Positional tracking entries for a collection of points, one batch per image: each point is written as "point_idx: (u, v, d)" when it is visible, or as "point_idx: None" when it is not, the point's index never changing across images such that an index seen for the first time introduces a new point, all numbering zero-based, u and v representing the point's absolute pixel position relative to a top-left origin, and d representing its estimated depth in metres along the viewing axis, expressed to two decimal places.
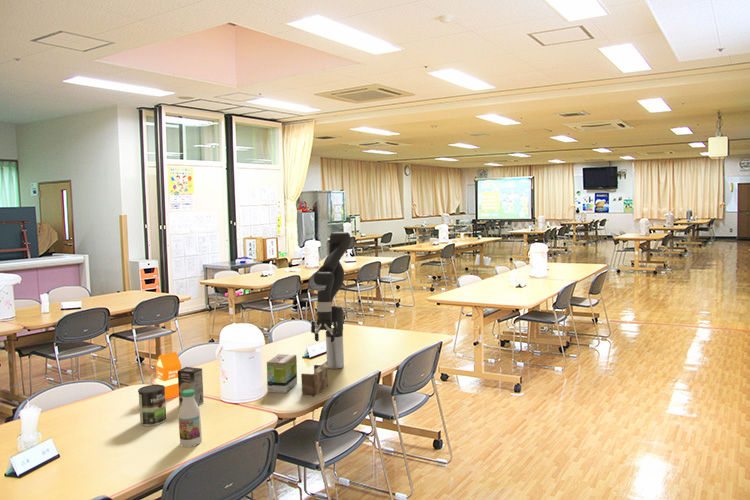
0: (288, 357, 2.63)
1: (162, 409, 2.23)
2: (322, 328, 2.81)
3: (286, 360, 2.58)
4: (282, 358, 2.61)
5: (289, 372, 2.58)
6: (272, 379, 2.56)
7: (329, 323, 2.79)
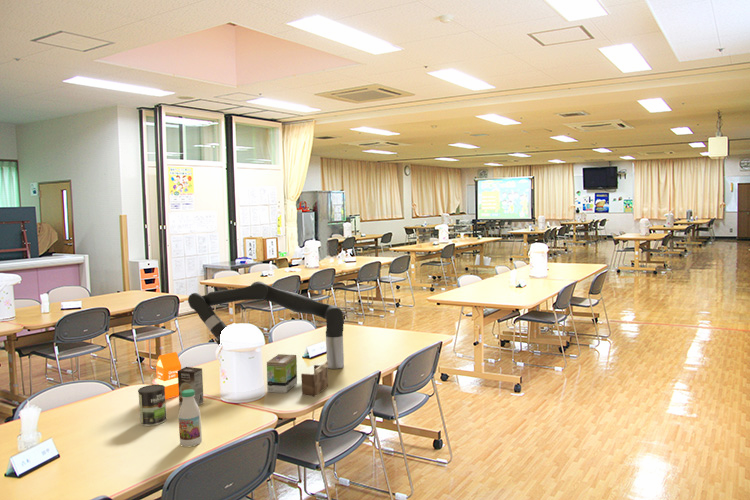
0: (288, 357, 2.63)
1: (162, 409, 2.23)
2: None
3: (286, 360, 2.58)
4: (282, 358, 2.61)
5: (289, 372, 2.58)
6: (272, 379, 2.56)
7: None
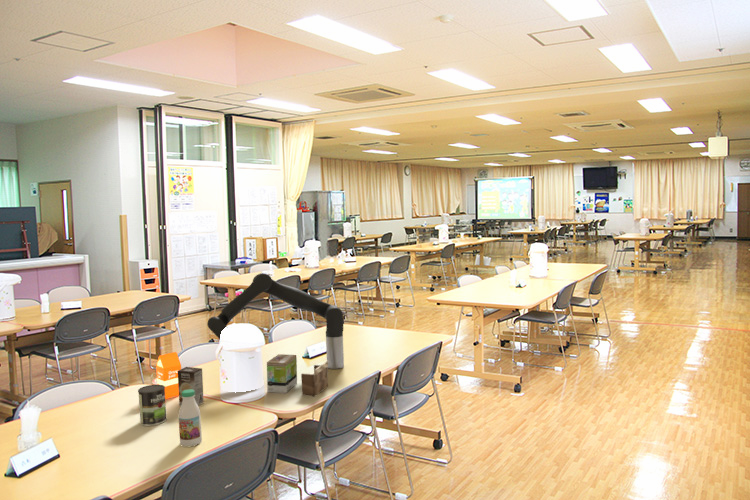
0: (288, 357, 2.63)
1: (162, 409, 2.23)
2: None
3: (286, 360, 2.58)
4: (282, 358, 2.61)
5: (289, 372, 2.58)
6: (272, 379, 2.56)
7: None
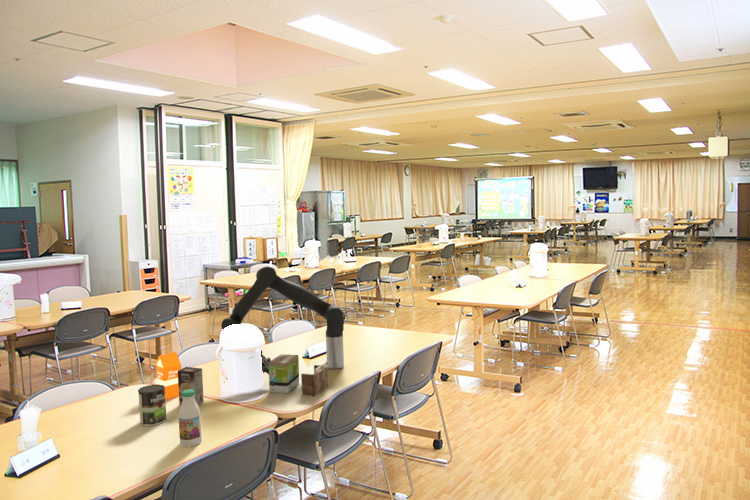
0: (290, 357, 2.63)
1: (162, 409, 2.23)
2: None
3: (288, 360, 2.58)
4: (284, 358, 2.61)
5: (291, 372, 2.58)
6: (274, 379, 2.56)
7: None
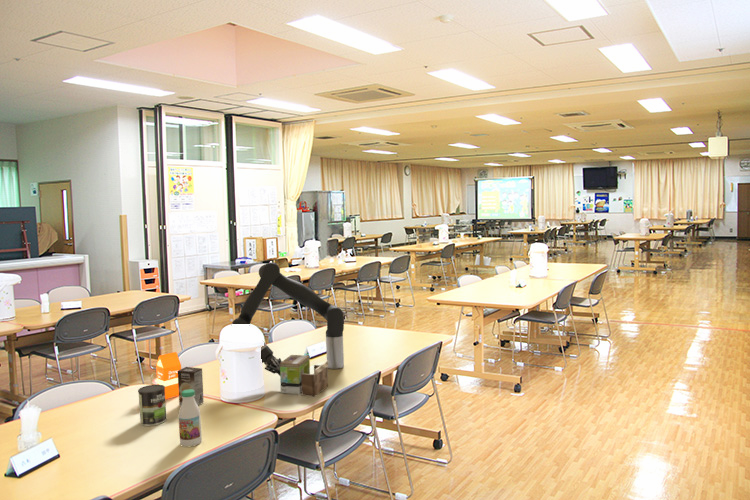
0: (301, 358, 2.61)
1: (162, 409, 2.23)
2: None
3: (299, 361, 2.56)
4: (295, 359, 2.59)
5: None
6: (285, 380, 2.54)
7: None
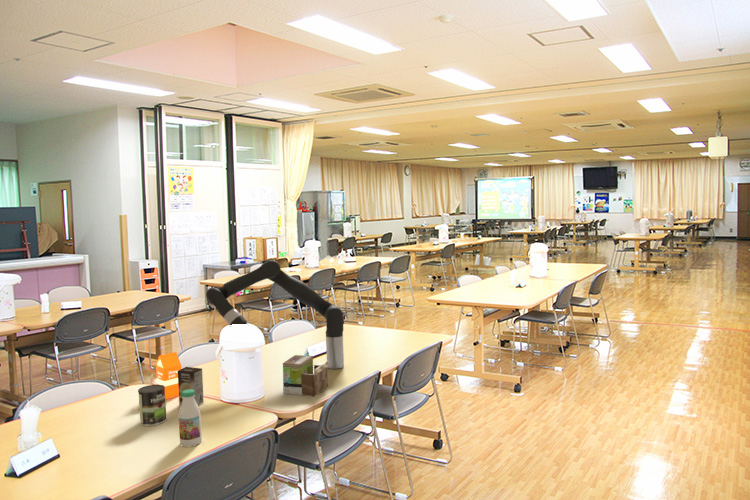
0: (304, 358, 2.60)
1: (162, 409, 2.23)
2: None
3: (302, 361, 2.55)
4: (298, 359, 2.58)
5: None
6: (288, 381, 2.53)
7: None
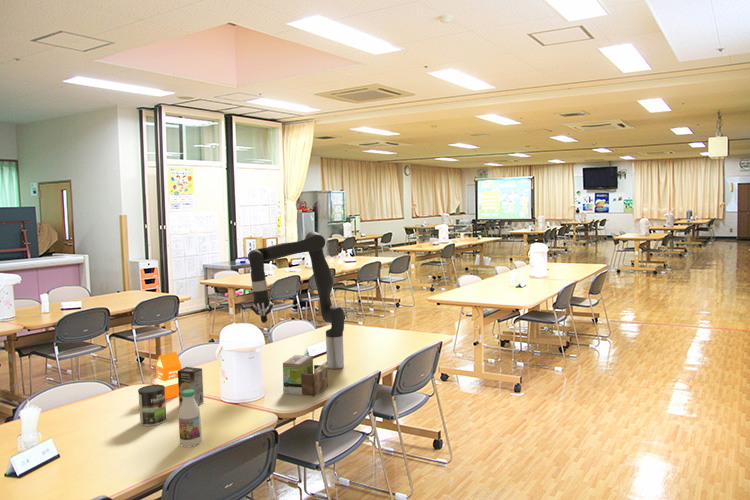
0: (304, 358, 2.60)
1: (162, 409, 2.23)
2: None
3: (302, 361, 2.55)
4: (298, 359, 2.58)
5: None
6: (288, 381, 2.53)
7: None
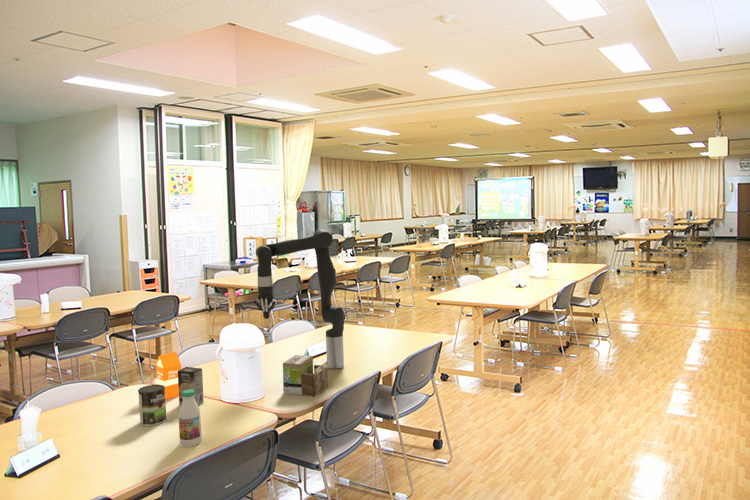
0: (304, 358, 2.60)
1: (162, 409, 2.23)
2: None
3: (302, 361, 2.55)
4: (298, 359, 2.59)
5: None
6: (288, 381, 2.53)
7: None
